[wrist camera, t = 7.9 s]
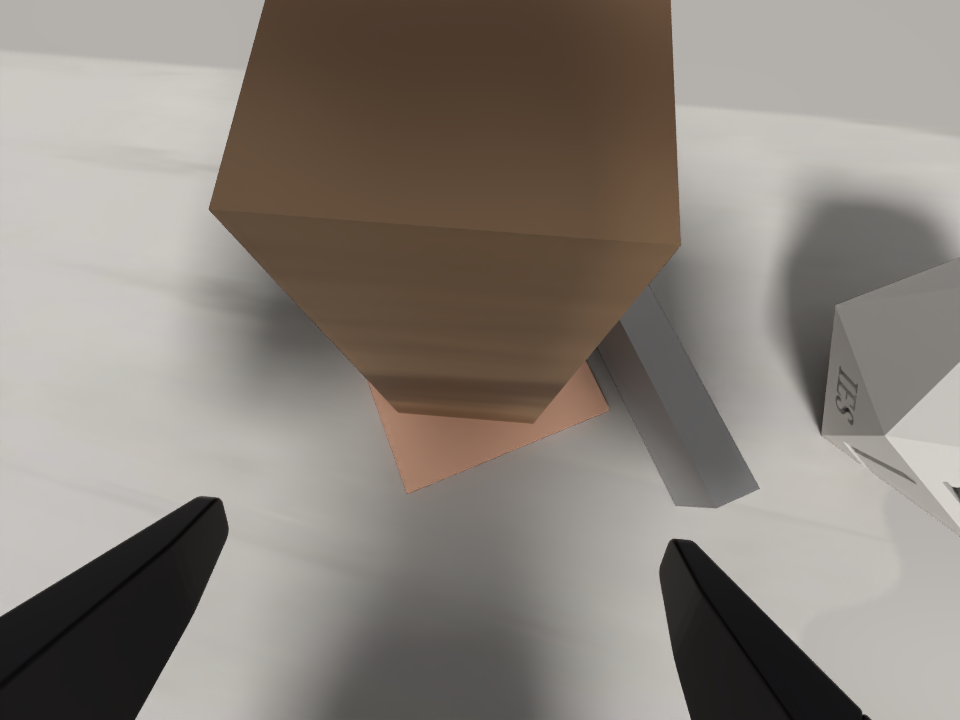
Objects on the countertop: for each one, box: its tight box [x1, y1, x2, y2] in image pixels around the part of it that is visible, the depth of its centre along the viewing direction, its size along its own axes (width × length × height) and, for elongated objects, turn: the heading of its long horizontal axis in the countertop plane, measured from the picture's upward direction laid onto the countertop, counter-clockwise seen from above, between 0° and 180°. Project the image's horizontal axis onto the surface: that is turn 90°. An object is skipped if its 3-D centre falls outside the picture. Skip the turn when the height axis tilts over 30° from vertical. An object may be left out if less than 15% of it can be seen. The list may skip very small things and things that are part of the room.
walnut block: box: [209, 0, 681, 424], centre depth 12 cm, size 5×5×13 cm
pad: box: [368, 361, 610, 494], centre depth 18 cm, size 8×8×1 cm
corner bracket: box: [597, 284, 760, 508], centre depth 17 cm, size 14×11×3 cm
